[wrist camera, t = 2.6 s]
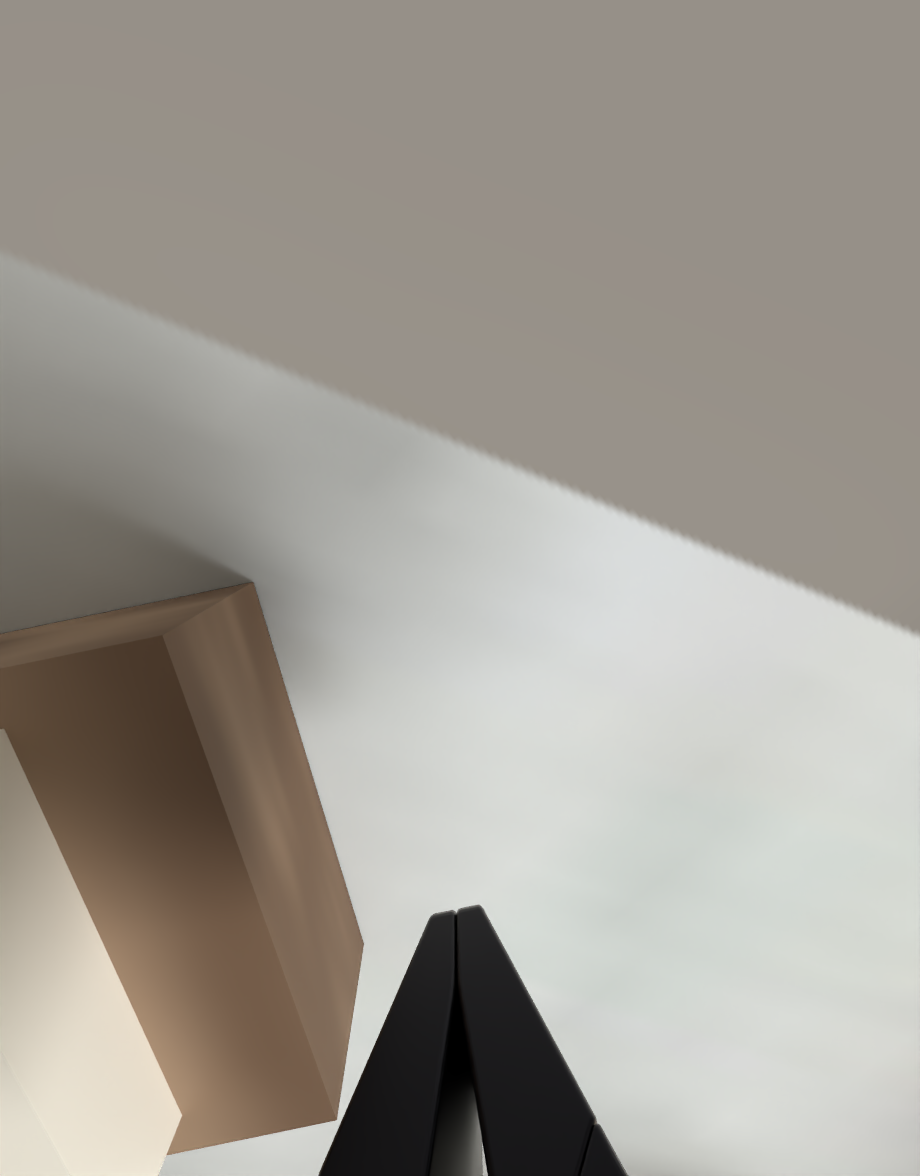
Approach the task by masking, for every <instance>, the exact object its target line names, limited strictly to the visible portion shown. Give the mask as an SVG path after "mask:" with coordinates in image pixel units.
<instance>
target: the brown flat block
mask: <svg viewBox="0 0 920 1176" xmlns="http://www.w3.org/2000/svg"><path fill="white" fill-rule="evenodd" d="M0 729H5V732H6V734H7V736H8V738H9V740H10V743H11V745H12V747H13V749H14V751H15V753H16V756H17V758H18V760H19V762H20V764H21V766H22V769H23V771H24V773H25V775H26V777H27V779H28V782H29V784H30V786H31V788H32V790H33V792H34V795H35V797H36V799H37V801H38V803H39V806H40V808H41V810H42V812H43V814H44V816H45V819H46V821H47V823H48V825H49V827H50V829H51V832H52V834H53V836H54V838H55V840H56V842H57V845H58V847H59V849H60V851H61V853H62V856H63V858H64V860H65V862H66V864H67V866H68V869H69V871H70V873H71V875H72V877H73V879H74V882H75V884H76V886H77V888H78V890H79V892H80V895H81V897H82V899H83V901H84V903H85V906H86V908H87V910H88V912H89V914H90V916H91V919H92V921H93V923H94V925H95V927H96V929H97V932H98V934H99V936H100V938H101V940H102V942H103V945H104V947H105V949H106V951H107V953H108V955H109V958H110V960H111V962H112V964H113V966H114V969H115V971H116V973H117V975H118V977H119V979H120V982H121V984H122V986H123V988H124V990H125V992H126V995H127V997H128V999H129V1001H130V1003H131V1005H132V1008H133V1010H134V1012H135V1014H136V1016H137V1019H138V1021H139V1023H140V1025H141V1027H142V1029H143V1032H144V1034H145V1036H146V1038H147V1040H148V1042H149V1045H150V1047H151V1049H152V1051H153V1053H154V1055H155V1058H156V1060H157V1062H158V1064H159V1066H160V1069H161V1071H162V1073H163V1075H164V1077H165V1079H166V1082H167V1084H168V1086H169V1088H170V1090H171V1092H172V1095H173V1097H174V1099H175V1101H176V1103H177V1105H178V1108H179V1110H180V1112H181V1114H182V1117H181V1119H180V1122H179V1124H178V1127H177V1129H176V1132H175V1134H174V1137H173V1140H172V1142H171V1145H170V1147H169V1150H168V1152H167V1155H170V1154H175V1153H180V1152H185V1151H190V1150H195V1149H199V1148H204V1147H209V1146H214V1145H219V1144H224V1143H228V1142H233V1141H238V1140H243V1139H248V1138H253V1137H258V1136H262V1135H267V1134H272V1133H277V1132H282V1131H287V1130H292V1129H296V1128H301V1127H306V1126H311V1125H316V1124H321V1123H325V1122H330V1121H335V1120H337V1115H338V1108H339V1102H340V1095H341V1089H342V1082H343V1076H344V1069H345V1063H346V1056H347V1050H348V1043H349V1037H350V1031H351V1024H352V1018H353V1011H354V1005H355V998H356V992H357V985H358V979H359V972H360V966H361V959H362V953H363V946H364V943H363V940H362V936H361V933H360V930H359V927H358V923H357V920H356V917H355V913H354V910H353V907H352V904H351V900H350V897H349V894H348V891H347V887H346V884H345V881H344V877H343V874H342V871H341V868H340V864H339V861H338V858H337V855H336V851H335V848H334V845H333V841H332V838H331V835H330V832H329V828H328V825H327V822H326V819H325V815H324V812H323V809H322V805H321V802H320V799H319V796H318V792H317V789H316V786H315V783H314V779H313V776H312V773H311V769H310V766H309V763H308V760H307V756H306V753H305V750H304V747H303V743H302V740H301V737H300V733H299V730H298V727H297V724H296V720H295V717H294V714H293V711H292V707H291V704H290V701H289V697H288V694H287V691H286V688H285V684H284V681H283V678H282V675H281V671H280V668H279V665H278V661H277V658H276V655H275V652H274V648H273V645H272V642H271V639H270V635H269V632H268V629H267V625H266V622H265V619H264V616H263V612H262V609H261V606H260V603H259V599H258V596H257V593H256V590H255V586H254V583H253V582H251V583H246V584H241V585H236V586H231V587H227V588H222V589H217V590H212V591H207V592H202V593H197V594H193V595H188V596H183V597H178V598H173V599H168V600H163V601H158V602H154V603H149V604H144V605H139V606H134V607H129V608H124V609H119V610H115V611H110V612H105V613H100V614H95V615H90V616H85V617H81V618H76V619H71V620H66V621H61V622H56V623H51V624H46V625H42V626H37V627H32V628H27V629H22V630H17V631H12V632H8V633H3V634H0Z"/></svg>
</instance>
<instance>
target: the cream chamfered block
mask: <svg viewBox="0 0 920 1176" xmlns="http://www.w3.org/2000/svg"><path fill="white" fill-rule="evenodd" d="M181 1117H182V1114H181V1112H180V1110H179V1108H178V1105H177V1103H176V1101H175V1099H174V1097H173V1095H172V1092H171V1090H170V1088H169V1086H168V1084H167V1082H166V1079H165V1077H164V1075H163V1073H162V1071H161V1069H160V1066H159V1064H158V1062H157V1060H156V1058H155V1055H154V1053H153V1051H152V1049H151V1047H150V1045H149V1042H148V1040H147V1038H146V1036H145V1034H144V1032H143V1029H142V1027H141V1025H140V1023H139V1021H138V1019H137V1016H136V1014H135V1012H134V1010H133V1008H132V1005H131V1003H130V1001H129V999H128V997H127V995H126V992H125V990H124V988H123V986H122V984H121V982H120V979H119V977H118V975H117V973H116V971H115V969H114V966H113V964H112V962H111V960H110V958H109V955H108V953H107V951H106V949H105V947H104V945H103V942H102V940H101V938H100V936H99V934H98V932H97V929H96V927H95V925H94V923H93V921H92V919H91V916H90V914H89V912H88V910H87V908H86V906H85V903H84V901H83V899H82V897H81V895H80V892H79V890H78V888H77V886H76V884H75V882H74V879H73V877H72V875H71V873H70V871H69V869H68V866H67V864H66V862H65V860H64V858H63V856H62V853H61V851H60V849H59V847H58V845H57V842H56V840H55V838H54V836H53V834H52V832H51V829H50V827H49V825H48V823H47V821H46V819H45V816H44V814H43V812H42V810H41V808H40V806H39V803H38V801H37V799H36V797H35V795H34V792H33V790H32V788H31V786H30V784H29V782H28V779H27V777H26V775H25V773H24V771H23V769H22V766H21V764H20V762H19V760H18V758H17V756H16V753H15V751H14V749H13V747H12V745H11V743H10V740H9V738H8V736H7V734H6V732H5V729H0V1176H158V1175H159V1172H160V1170H161V1167H162V1165H163V1162H164V1160H165V1157H166V1155H167V1152H168V1150H169V1147H170V1145H171V1142H172V1140H173V1137H174V1134H175V1132H176V1129H177V1127H178V1124H179V1122H180V1119H181Z"/></svg>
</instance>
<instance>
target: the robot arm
mask: <svg viewBox="0 0 920 1176" xmlns="http://www.w3.org/2000/svg"><path fill="white" fill-rule="evenodd" d="M482 1142H483V1148H484V1154H485V1160H486V1166H487V1172H488V1176H628V1175H627V1173H626V1171H625V1169H624V1168H623V1166H622V1164H621V1162H620V1161H619V1159H618V1157H617V1155H616V1153H615V1151H614V1150H613V1148H612V1146H611V1144H610V1142H609V1140H608V1139H607V1137H606V1135H605V1133H604V1131H603V1129H602V1127H601V1126H600V1125H599V1124H597V1121H596V1117H595V1115H594V1113H593V1111H592V1110H591V1108H590V1106H589V1104H588V1102H587V1100H586V1098H585V1097H584V1095H583V1093H582V1091H581V1089H580V1087H579V1085H578V1084H577V1082H576V1080H575V1078H574V1076H573V1074H572V1072H571V1071H570V1069H569V1067H568V1065H567V1063H566V1061H565V1059H564V1058H563V1056H562V1054H561V1052H560V1050H559V1048H558V1046H557V1045H556V1043H555V1041H554V1039H553V1037H552V1035H551V1033H550V1032H549V1030H548V1028H547V1026H546V1024H545V1022H544V1021H543V1019H542V1017H541V1015H540V1013H539V1011H538V1009H537V1008H536V1006H535V1004H534V1002H533V1000H532V998H531V996H530V995H529V993H528V991H527V989H526V987H525V985H524V983H523V982H522V980H521V978H520V976H519V974H518V972H517V970H516V969H515V967H514V965H513V963H512V961H511V959H510V957H509V956H508V954H507V952H506V950H505V948H504V946H503V944H502V943H501V941H500V939H499V937H498V935H497V933H496V931H495V930H494V928H493V926H492V924H491V922H490V920H489V919H488V917H487V915H486V913H485V911H484V909H483V908H482V907H481V906H480V905H474V906H469V907H464V908H460V909H459V910H458V911H457V913H456V912H455V911H453V910H450V911H445V912H440V913H435V914H433V915H432V916H431V917H430V918H429V920H428V923H427V925H426V927H425V930H424V932H423V934H422V937H421V939H420V941H419V943H418V946H417V948H416V950H415V953H414V955H413V957H412V960H411V962H410V964H409V967H408V969H407V971H406V974H405V976H404V978H403V980H402V983H401V985H400V987H399V990H398V992H397V994H396V997H395V999H394V1001H393V1004H392V1006H391V1008H390V1011H389V1013H388V1015H387V1017H386V1020H385V1022H384V1024H383V1027H382V1029H381V1031H380V1034H379V1036H378V1038H377V1041H376V1043H375V1045H374V1047H373V1050H372V1052H371V1054H370V1057H369V1059H368V1061H367V1064H366V1066H365V1068H364V1071H363V1073H362V1075H361V1078H360V1080H359V1082H358V1084H357V1087H356V1089H355V1091H354V1094H353V1096H352V1098H351V1101H350V1103H349V1105H348V1108H347V1110H346V1112H345V1115H344V1117H343V1119H342V1121H341V1124H340V1126H339V1128H338V1131H337V1133H336V1135H335V1138H334V1140H333V1142H332V1145H331V1147H330V1149H329V1151H328V1154H327V1156H326V1158H325V1161H324V1163H323V1165H322V1168H321V1170H320V1172H319V1176H483V1172H482Z"/></svg>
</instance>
